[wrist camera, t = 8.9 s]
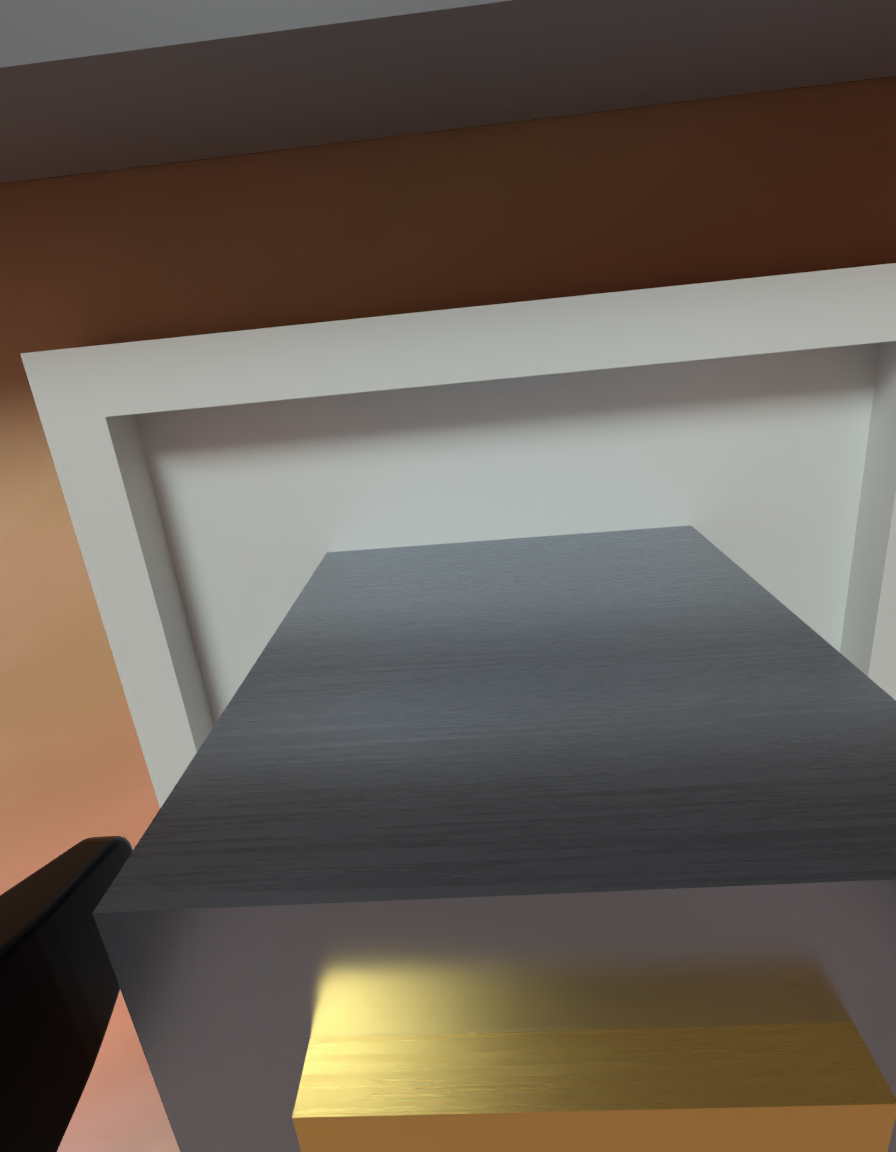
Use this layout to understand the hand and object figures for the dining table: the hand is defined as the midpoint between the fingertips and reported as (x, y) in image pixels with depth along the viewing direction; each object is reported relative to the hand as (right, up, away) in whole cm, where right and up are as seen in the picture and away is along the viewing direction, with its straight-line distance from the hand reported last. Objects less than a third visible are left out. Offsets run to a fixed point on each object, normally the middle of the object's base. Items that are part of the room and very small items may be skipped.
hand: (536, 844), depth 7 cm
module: (0, +1, +3) cm, 3 cm away
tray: (0, +1, +3) cm, 4 cm away
